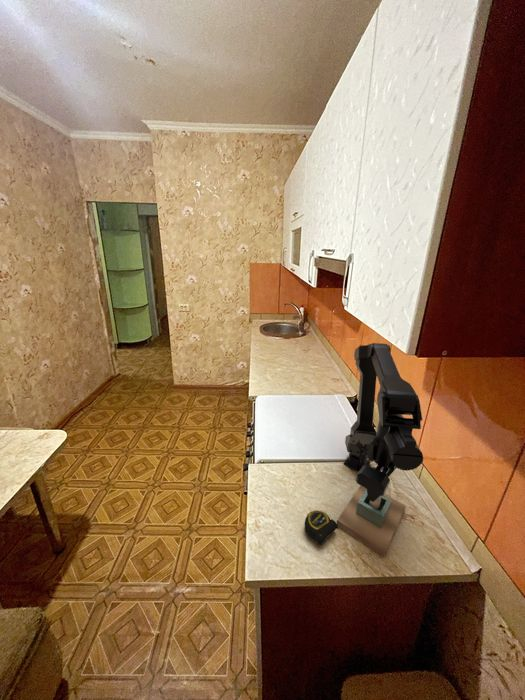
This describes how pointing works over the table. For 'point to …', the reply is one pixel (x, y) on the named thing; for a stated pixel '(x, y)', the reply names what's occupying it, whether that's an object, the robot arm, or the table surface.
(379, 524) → the collar
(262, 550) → the table surface
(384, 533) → the post board
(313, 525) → the tape measure
